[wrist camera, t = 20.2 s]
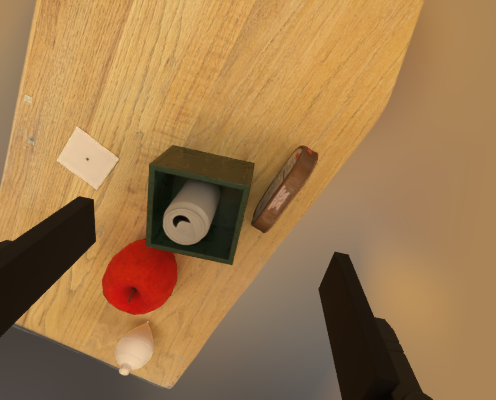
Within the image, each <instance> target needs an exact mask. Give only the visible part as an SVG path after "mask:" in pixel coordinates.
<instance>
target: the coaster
mask: <svg viewBox="0 0 496 400" xmlns="http://www.w3.org/2000/svg"><path fill="white" fill-rule="evenodd" d="M118 160H119V158H117V157H116V156H115V155H114V154H112V153H111V152H110V151H108V150H107V149H106V148H105V147H103V146H102V145H101V144H99V143H98V142H97V141H96V140H94V139H93V138H92V137H91V136H89V135H88V134H87V133H85V132H84V131H83V130H82V129H80V128H79V127H78V126H77V127H76V128H75V130H74V132H73V134H72V135H71V137H70V139H69V140H68V142H67V144H66V145H65V147H64V149H63V150H62V152H61V154H60V156H59V157H58V159H57V161H58V162H59V163H61V164H62V165H63V166H65V167H66V168H67V169H69V170H70V171H72V172H73V173H74V174H76V175H77V176H78V177H80V178H81V179H83V180H84V181H85V182H87V183H88V184H89V185H91V186H92V187H94V188H95V189H96V190H98V188H99V187H100V186H101V184H102V183H103V181H104V180H105V178H106V177H107V176H108V174H109V173H110V171H111V170H112V169H113V167H114V166H115V164H116V163H117V162H118Z"/></svg>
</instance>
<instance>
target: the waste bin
mask: <svg viewBox="0 0 496 400" xmlns="http://www.w3.org/2000/svg"><path fill="white" fill-rule="evenodd" d="M253 168H254V163H251V162H246V161H242V160H237V159H233V158H228V157H224V156H219V155H215V154H210V153H206V152H201V151H197V150H192V149H188V148H183V147H179V146H174V145H172V146H171V147H170V148H169V149H168V150H166V151H165V152H164V153H163V154H161V155H160V156H159V157H158V158H156V159H155V160H154V161H153V162H151V163H150V164H149V184H148V206H147V227H146V247H151V248H155V249H159V250H164V251H169V252H173V253H178V254H183V255H187V256H192V257H197V258H201V259H206V260H211V261H215V262H220V263H225V264H229V265H232V264H233V260H234V256H235V251H236V247H237V243H238V238H239V234H240V230H241V225H242V221H243V217H244V212H245V208H246V204H247V199H248V195H249V190H250V186H251V180H252V174H253ZM190 178H191V179H195V180H200V181H204V182H209V183H214V184H218V185H219V187H220V190H221V198H220V201H219V204H218V206H217V209H216V212H215V214H214V217H213V220H212V222H211V225H210V228H209V230H208V232H207V234H206V235H205V236H204V237H203V238H202V239H201V240H200V241H198V242H197V243H195V244H191V245H183V244H179V243H176V242H174V241H173V240H171V239H170V238H169V237H168V236H167V235H166V233H165V231H164V228H163V218H164V213H165V211H166V209H167V208H168V207H169V205H170V204H171V202H172V201H173V200H174V198H175V197H176V196H177V194H178V193H179V191H180V190H181V189H182V187H183V186H184V184H185V183H186V182H187V180H188V179H190Z"/></svg>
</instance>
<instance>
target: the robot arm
mask: <svg viewBox="0 0 496 400" xmlns="http://www.w3.org/2000/svg"><path fill="white" fill-rule="evenodd" d="M95 242H96V234H95V216H94V199H90V198H85V197H80V196H79V197H77V198H76V199H74V200H73V201H71V202H70V203H69V204H67V205H66V206H64V207H63V208H61V209H60V210H58V211H57V212H55V213H54V214H52V215H51V216H49V217H48V218H46V219H45V220H43V221H42V222H40V223H39V224H38V225H36V226H35V227H33V228H32V229H30V230H29V231H27V232H26V233H24V234H23V235H21V236H20V237H18V238H17V239H15V240H14V241H9V240H5V241H3V242H0V337H1V336H2V335H3V334H4V333H5V332H6V331H7V330H8V329H9V328H10V327H11V326H12V325H13V324H14V323H15V322H16V321H17V320H18V319H19V318H20V317H21V316H22V315H23V314H24V313H25V312H26V311H27V310H28V309H29V308H30V307H31V306H32V305H33V304H34V303H35V302H36V301H37V300H38V299H39V298H40V297H41V296H42V295H43V294H44V293H45V292H46V291H47V290H48V289H49V288H50V287H51V286H52V285H53V284H54V283H55V282H56V281H57V280H58V279H59V278H60V277H61V276H62V275H63V274H64V273H65V272H66V271H67V270H68V269H69V268H70V267H71V266H72V265H73V264H74V263H75V262H76V261H77V260H78V259H79V258H80V257H81V256H82V255H83V254H84V253H85V252H86V251H87V250H88V249H89V248H90V247H91V246H92V245H93V244H94V243H95ZM319 294H320V298H321V303H322V307H323V312H324V317H325V322H326V326H327V331H328V336H329V340H330V345H331V349H332V354H333V359H334V364H335V369H336V373H337V378H338V382H339V387H340V392H341V396H342V400H433V399H432V398H431V397H429V396H427V395H426V394H424V393H423V392H422V390H421V388H420V386H419V383H418V381H417V379H416V377H415V375H414V373H413V370H412V368H411V366H410V364H409V362H408V360H407V358H406V356H405V354H404V353H403V352H404V351H403V349H402V347H401V345H400V344H399V340H398V338H397V336H396V334H395V332H394V330H393V329H392V328H391V326H390V325H389V324H388V323H387V322H386V320H385V319H381V318H376V317H374V315H373V313H372V311H371V308H370V306H369V303H368V301H367V298H366V296H365V294H364V291H363V289H362V286H361V284H360V281H359V279H358V277H357V274H356V272H355V269H354V267H353V264H352V262H351V260H350V257H349V255H348V254H343V253H338V252H334V255H333V257H332V259H331V261H330V264H329V266H328V268H327V271H326V273H325V275H324V278H323V280H322V282H321V284H320V287H319Z"/></svg>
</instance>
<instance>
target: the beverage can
mask: <svg viewBox="0 0 496 400" xmlns="http://www.w3.org/2000/svg"><path fill="white" fill-rule="evenodd" d="M220 198H221V190H220V187H219V185H218V184H214V183H209V182H204V181H200V180H195V179H191V178H190V179H188V180H187V182H186V183H185V184H184V186H183V187H182V189H181V190H180V191H179V193H178V194H177V196H176V197H175V198H174V200H173V201H172V202H171V204H170V205H169V207H168V208H167V209H166V211H165V213H164V218H163V228H164V231H165V233H166V235H167V236H168V237H169V238H170V239H171V240H173V241H174V242H176V243H179V244H183V245H191V244H195V243H197V242H198V241H200V240H201V239H202V238H203V237H204V236H205V235H206V234H207V232H208V230H209V228H210V225H211V222H212V220H213V217H214V214H215V212H216V209H217V206H218V204H219V201H220Z"/></svg>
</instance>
